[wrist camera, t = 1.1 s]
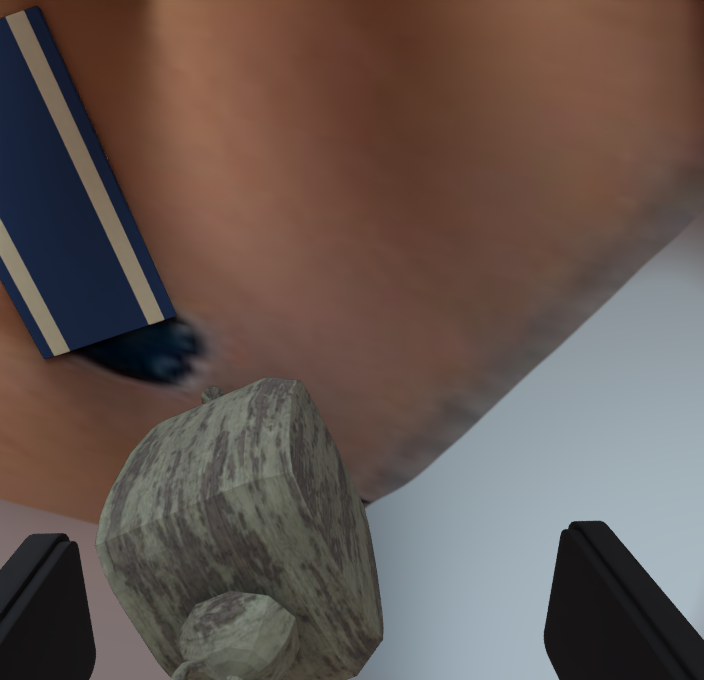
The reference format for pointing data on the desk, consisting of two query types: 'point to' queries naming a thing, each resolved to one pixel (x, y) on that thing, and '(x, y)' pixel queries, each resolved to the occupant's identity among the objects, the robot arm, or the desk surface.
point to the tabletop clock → (244, 542)
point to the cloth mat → (64, 206)
